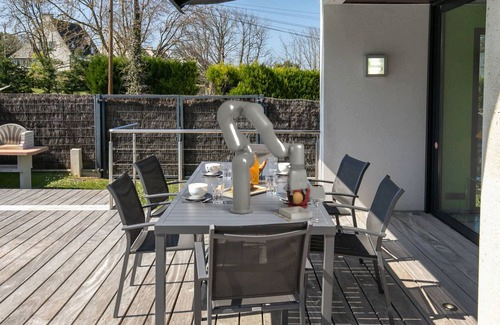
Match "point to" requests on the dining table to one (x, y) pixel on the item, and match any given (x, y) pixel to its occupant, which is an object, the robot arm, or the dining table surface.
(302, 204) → the plant pot
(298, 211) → the tray
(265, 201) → the dining table surface
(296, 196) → the ball
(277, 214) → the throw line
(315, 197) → the wineglass
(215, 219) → the dining table surface
